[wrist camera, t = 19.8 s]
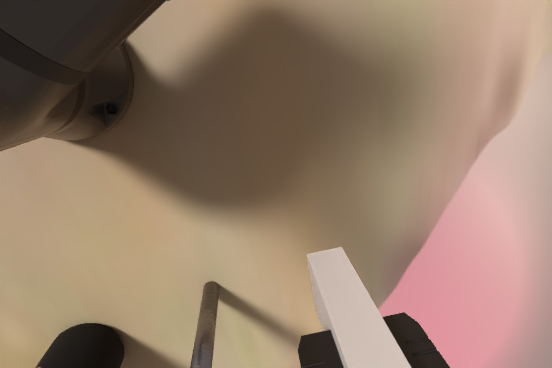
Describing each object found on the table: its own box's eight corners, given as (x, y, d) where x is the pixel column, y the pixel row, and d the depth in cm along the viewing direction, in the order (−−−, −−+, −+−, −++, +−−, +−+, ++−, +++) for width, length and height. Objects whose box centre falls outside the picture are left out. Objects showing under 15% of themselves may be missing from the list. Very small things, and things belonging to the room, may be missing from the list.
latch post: (205, 295, 49) (186, 421, 32) (202, 283, 48) (180, 405, 31) (220, 292, 49) (210, 416, 32) (217, 280, 49) (204, 400, 31)
